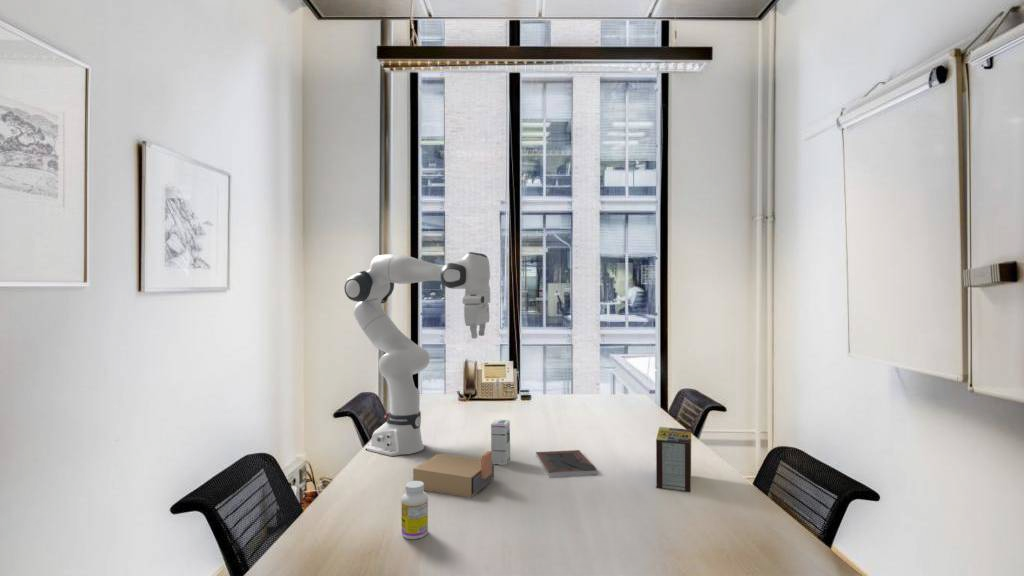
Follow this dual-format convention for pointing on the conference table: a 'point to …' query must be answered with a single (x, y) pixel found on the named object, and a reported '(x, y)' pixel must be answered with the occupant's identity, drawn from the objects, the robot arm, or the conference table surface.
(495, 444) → the syrup box
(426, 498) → the supplement bottle
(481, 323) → the robot arm
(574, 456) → the picture frame
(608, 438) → the conference table surface
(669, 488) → the protein box
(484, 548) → the conference table surface
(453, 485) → the sleeve
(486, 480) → the tray
